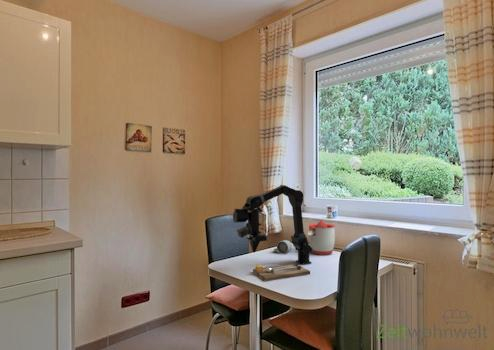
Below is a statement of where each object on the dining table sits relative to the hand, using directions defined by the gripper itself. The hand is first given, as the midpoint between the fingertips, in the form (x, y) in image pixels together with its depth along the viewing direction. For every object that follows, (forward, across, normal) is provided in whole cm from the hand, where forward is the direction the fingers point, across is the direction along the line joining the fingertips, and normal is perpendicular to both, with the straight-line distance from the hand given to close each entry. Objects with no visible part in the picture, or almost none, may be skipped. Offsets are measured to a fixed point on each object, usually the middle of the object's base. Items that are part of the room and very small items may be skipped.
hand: (253, 252), depth 156 cm
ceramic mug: (+9, -24, +30) cm, 40 cm away
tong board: (+9, +10, +10) cm, 17 cm away
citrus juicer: (+9, -14, +51) cm, 53 cm away
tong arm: (+7, +11, +10) cm, 17 cm away
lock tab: (+7, +6, 0) cm, 10 cm away
